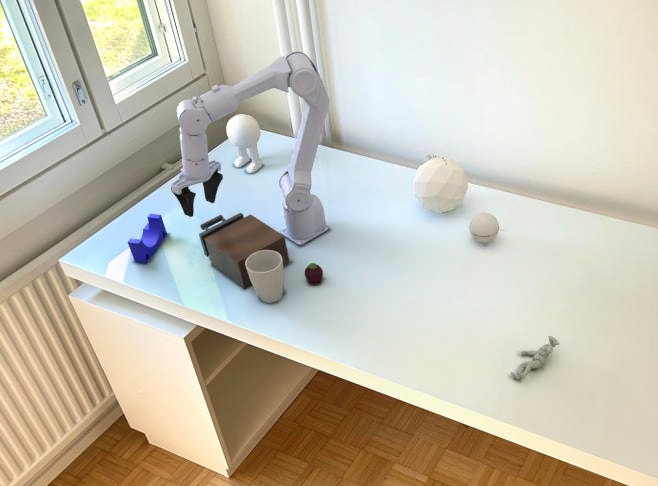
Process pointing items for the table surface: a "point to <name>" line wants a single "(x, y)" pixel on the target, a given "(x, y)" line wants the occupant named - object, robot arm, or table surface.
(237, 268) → the cabinet
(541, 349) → the soldier figure
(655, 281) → the table surface
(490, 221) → the grey rounded domed piece
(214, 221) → the drawer
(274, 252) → the cup
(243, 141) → the toy character
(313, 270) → the mangosteen
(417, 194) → the geodesic sphere
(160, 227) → the cable clip
